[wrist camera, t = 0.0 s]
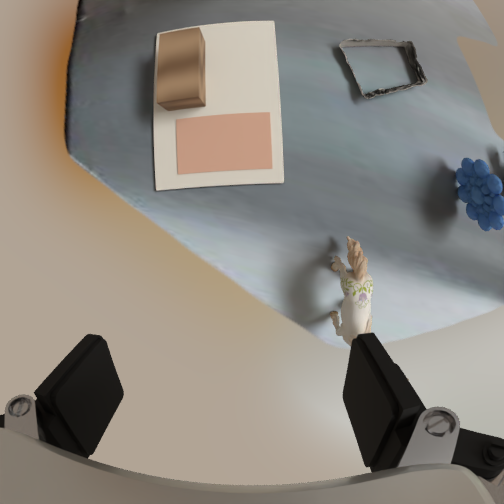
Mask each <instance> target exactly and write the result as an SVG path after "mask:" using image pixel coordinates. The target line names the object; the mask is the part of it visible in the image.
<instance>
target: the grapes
mask: <svg viewBox="0 0 504 504" xmlns="http://www.w3.org/2000/svg"><path fill="white" fill-rule="evenodd" d="M461 166H462V168H458V170H457V171H456V179H457V181H458V182H459V183H460V184H461V185H460V187H459V188H458V196H459V198H460V199H461V200H462V201H463V202H465V203H468V204H467V206H466V213H467V215H468V216H469V217H470V218H471V219H472V220H478V224H479V226H480V227H481V229H483V230H484V231H489V230H490V229H491V228H494V229H496V230H500V229H501V228H502V227H503V224H504V221H503V217H502V216H503V215H504V197H503V196H501V195H499V194H500V193H501V192H502V188H503V186H502V182H501V180H500V179H499V178H498V176H497V175H494V174H489V172H490V171H489V167H488V165H487V164H486V163H485V162H484V161H483V160H480V159H478V160H476V161H475V162H473V161H472V160H471V159H469V158H464V159H463V160H462V163H461Z"/></svg>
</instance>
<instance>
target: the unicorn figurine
mask: <svg viewBox="0 0 504 504" xmlns="http://www.w3.org/2000/svg"><path fill="white" fill-rule="evenodd" d="M347 239H348V243H347V247H348V250H349V252H348V256H347V257H348V261H349V264H350V266H351V267H352V269H353V272H348V273H347V271H346V266H345V265H344V264H343V263H342V262H341V259H340V258H339V257H337V256H335V258H334V260H335V262H334V263H333V264H332V265H331V269H332V270H333V271H335V272H336V271H338V270H340V279H341V283H340V284H341V288H342V290H343V293H344V296H345V297H344V300H343V303H342V306H341V318H342V322H343V323H342V324H341V326H339V316H338V312H337V311H333V312H331V313H330V316H331V318H332V320H333V325H334V326H335V328H336V334H337V335H338V336H343V339H344V341H345V342H346V343H347V344H349V345H350V346H351V344H352V340H353V339H354V338H357V335H358V334H364V333H371V324H372V315H370V311H371V304H370V299H371V297H372V294H373V280H372V277H371V276H370V275H369V274H368V273H367V272H366V270H367V262H368V260H367V258H365V257H364V256H363V252H362V249H361V247H360V244H359V242H358V241H355V240H353V239H351V238H350V237H348V236H347Z"/></svg>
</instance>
